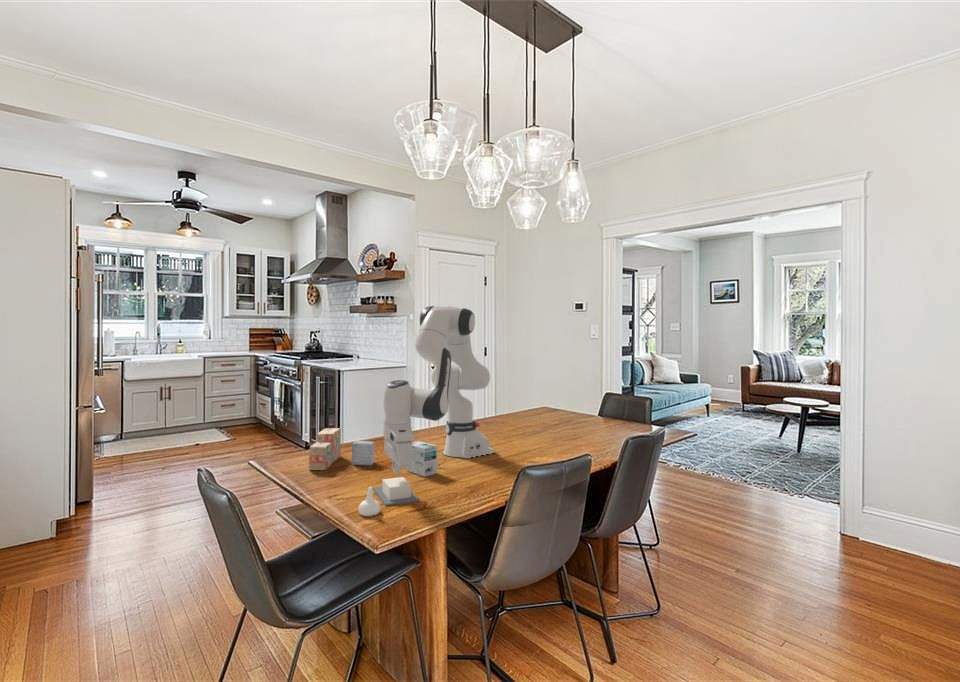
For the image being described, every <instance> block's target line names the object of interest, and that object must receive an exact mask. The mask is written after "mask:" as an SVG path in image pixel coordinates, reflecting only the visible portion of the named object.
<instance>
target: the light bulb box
mask: <svg viewBox="0 0 960 682" xmlns="http://www.w3.org/2000/svg"><path fill="white" fill-rule="evenodd" d="M412 445H413V450H412V462H411V465H410V466H406V472H409V473H412V474H414V475H415V474H416V475H418V476H421V477H429V476H432V475H435V474H438V445H435V444H432V443H428V442H424V441H419V440H418V441H412Z"/></svg>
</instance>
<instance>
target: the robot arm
mask: <svg viewBox="0 0 960 682" xmlns="http://www.w3.org/2000/svg"><path fill="white" fill-rule="evenodd" d="M475 316H476V315H475V314H474V312H473V311H472V310H471V309H469V308H466V307H465V308H460V307H458V306H457V307H456V306H434V305H432V306H429V305H428V306H426V307H424V308H423V309H422V310H421V312H420V315H419V325H420V327H419V330H418V332H417V335H416V338H415V345H414V347H415V351H416V352H417V354H418V355H419V356H420V357H421V358H422V359H423V360H425V361H427V362H428V363H430V364H433V365H434V366H435V367H433V369H432V371H431V375H430V377H431V378H430V379H431V381H432V384H433V387H432V388H430V389H422V388H421V389H420V388H415V387H412V386H410V382H409V381H408V380H404V379H398V380H392V381H390V382H388V383H387V384H386V385H385V387H384V393H383V413H384V418H383V424H382V425H383V427H382V428H383V429H382V431H383V438H384V441H383V442H384V443H383V444H384V445H383V450H384V453H385V454H386V456H387V457H389V458H390V459H391V464H392V472H393V473H394V475H396V476H398V475H401V473H402V468H407V466H410V465H411V462H412V450H413V445H412V443H413V442H415V434H414V431H413V429H412V418H417V419H418V418H419V419H426V420H430V421H434V422H436V421H437V422H438V421H439V420H441V419H442V418H443V417H444V416H446V414H447V416H446V417H447V418H446V419H447V420H446V425H445V432H446V433H445V434H446V437H445V438H446V439H445V445H444V450H443V454H444V455H445V456H447V457H451V458H463V459H472V458H471V457H473V458H477V457H476V456H478V457H482V456H481V455H484V456H487V455H486V454H489V455H492V454H491V453H494V452H495V449H493V448H492V447H490V442H489V439H488V437H487V436H486V435H484V433H482V432H480V431H479V430H478V429H477V428H480V427H481V423H480V422H478V421H477V422H476V421H475V420H473V417H474V409H473V408H474V406H473V403H472V401H471V400H470V399H469V398H467V397H465V396H463V395H462V393H461V392H460V390H464V391H476V390H483V389H486V388H487V387H488V385H489V384H490V381H491V374H490V371H489V369H488V368H487V367H486V366H484V365H483V364H481V362H479V361H478V359H477V358H476V357H475V356H474V354H473V349H472V342H471V341H472V340H471V334H472V333H473V331H474V329H475V326H476V317H475ZM452 363H453V364H452ZM494 454H495V453H494Z"/></svg>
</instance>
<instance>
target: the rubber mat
mask: <svg viewBox="0 0 960 682" xmlns="http://www.w3.org/2000/svg"><path fill="white" fill-rule="evenodd" d="M372 491H373V492H374V493H375V494H376V495H377V497H378V498H379V500H380V501H381V502H382V504H383V506H385V507H389V505H390V506H396V504H397V505H403V504H404V505H405V504H409V503H415V502H416V503H418V502H420V501H421V500H420V498H419V497H418V496H417V495H416V494H415V493H414V492H413V491H412V490H411V497H408V498H401V499H394V500H389V499H388V498H387V497H386V495H385V494H384V493H383V492H382V485H381V486H375V487H374V486H373V487H372Z"/></svg>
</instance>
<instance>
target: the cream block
mask: <svg viewBox="0 0 960 682" xmlns="http://www.w3.org/2000/svg"><path fill="white" fill-rule="evenodd" d="M381 486H382V492H383V493H384V494H385V495H386V497H387V498H388V499H389V500H394V499H401V498H408V497H411V491H412V485H411V483H410V482H409V481H408V480H407V479H406V478H405V477H404V476H399V477H392V478H383V479H382V485H381Z"/></svg>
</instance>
